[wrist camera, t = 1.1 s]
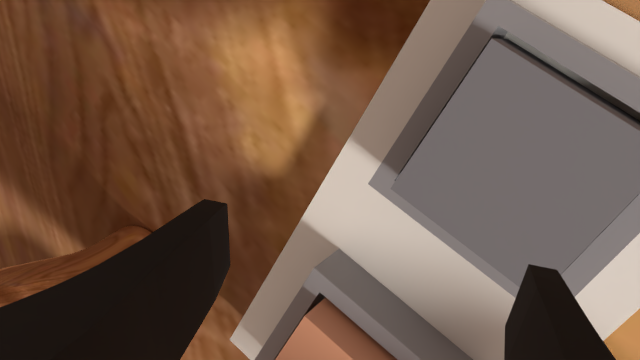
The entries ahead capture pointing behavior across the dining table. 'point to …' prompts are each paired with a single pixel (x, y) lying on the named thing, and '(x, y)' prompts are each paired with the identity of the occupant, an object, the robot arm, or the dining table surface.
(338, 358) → the terracotta key
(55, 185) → the dining table surface
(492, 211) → the charcoal key
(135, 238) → the beer glass
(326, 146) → the dining table surface
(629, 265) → the button panel
